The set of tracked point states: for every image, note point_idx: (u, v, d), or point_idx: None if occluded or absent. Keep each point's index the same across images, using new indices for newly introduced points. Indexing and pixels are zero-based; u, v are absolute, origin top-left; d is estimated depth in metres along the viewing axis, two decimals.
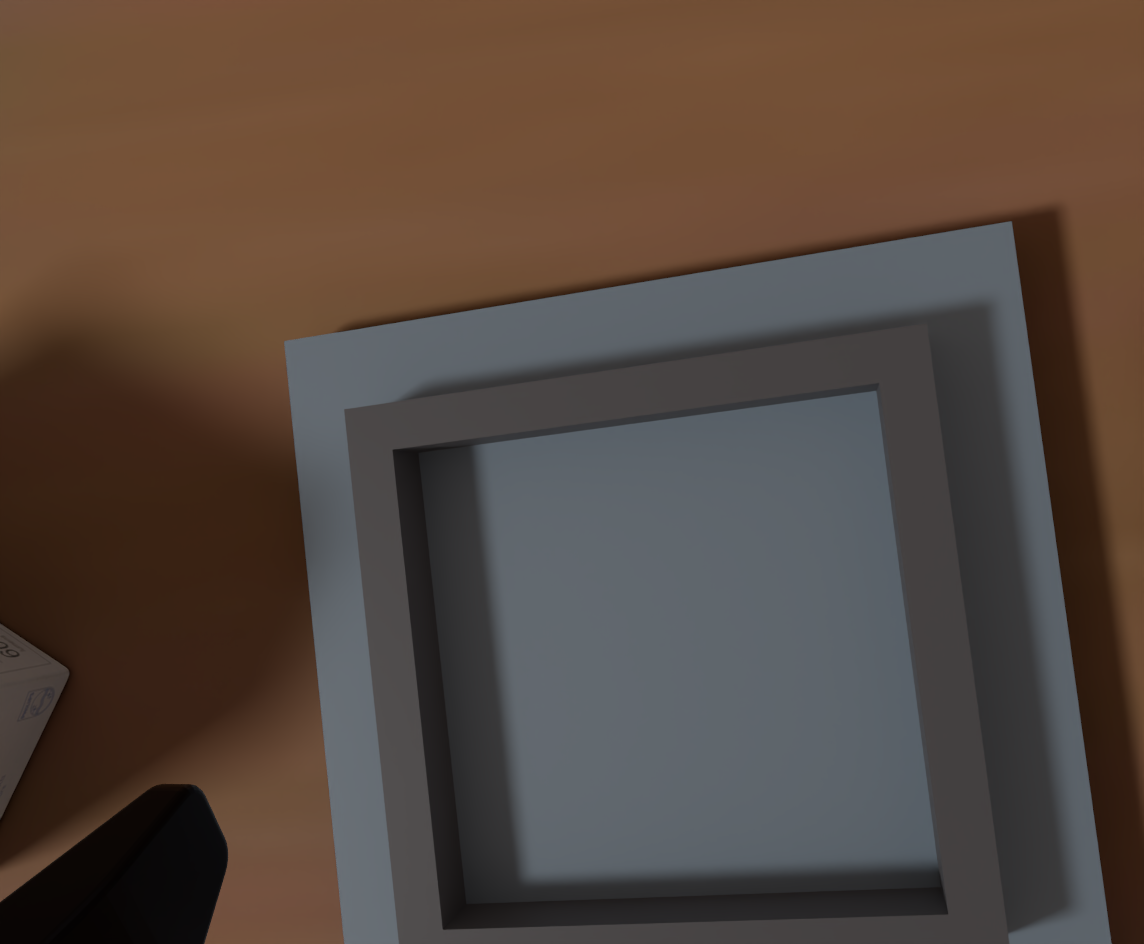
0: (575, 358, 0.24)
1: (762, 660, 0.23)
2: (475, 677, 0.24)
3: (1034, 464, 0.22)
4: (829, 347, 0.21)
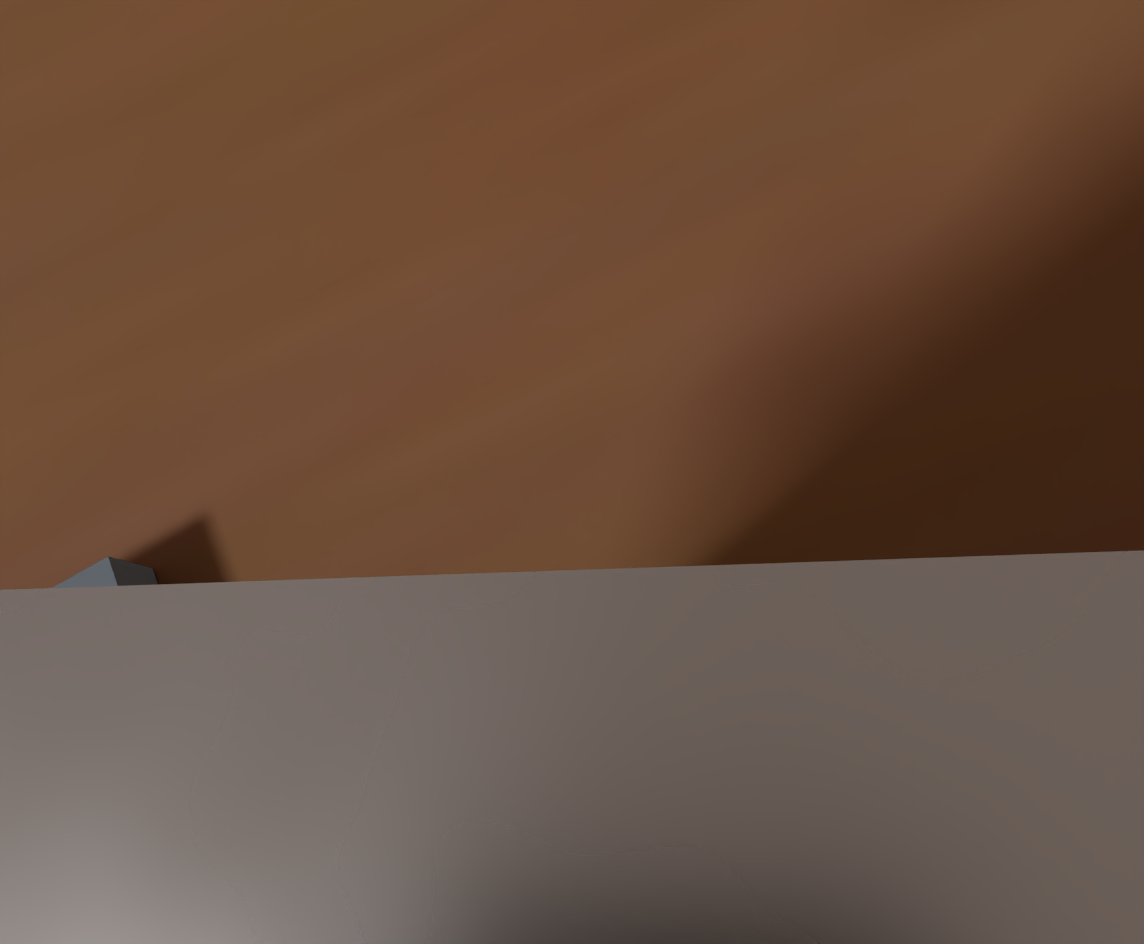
0: None
1: None
2: None
3: None
4: None
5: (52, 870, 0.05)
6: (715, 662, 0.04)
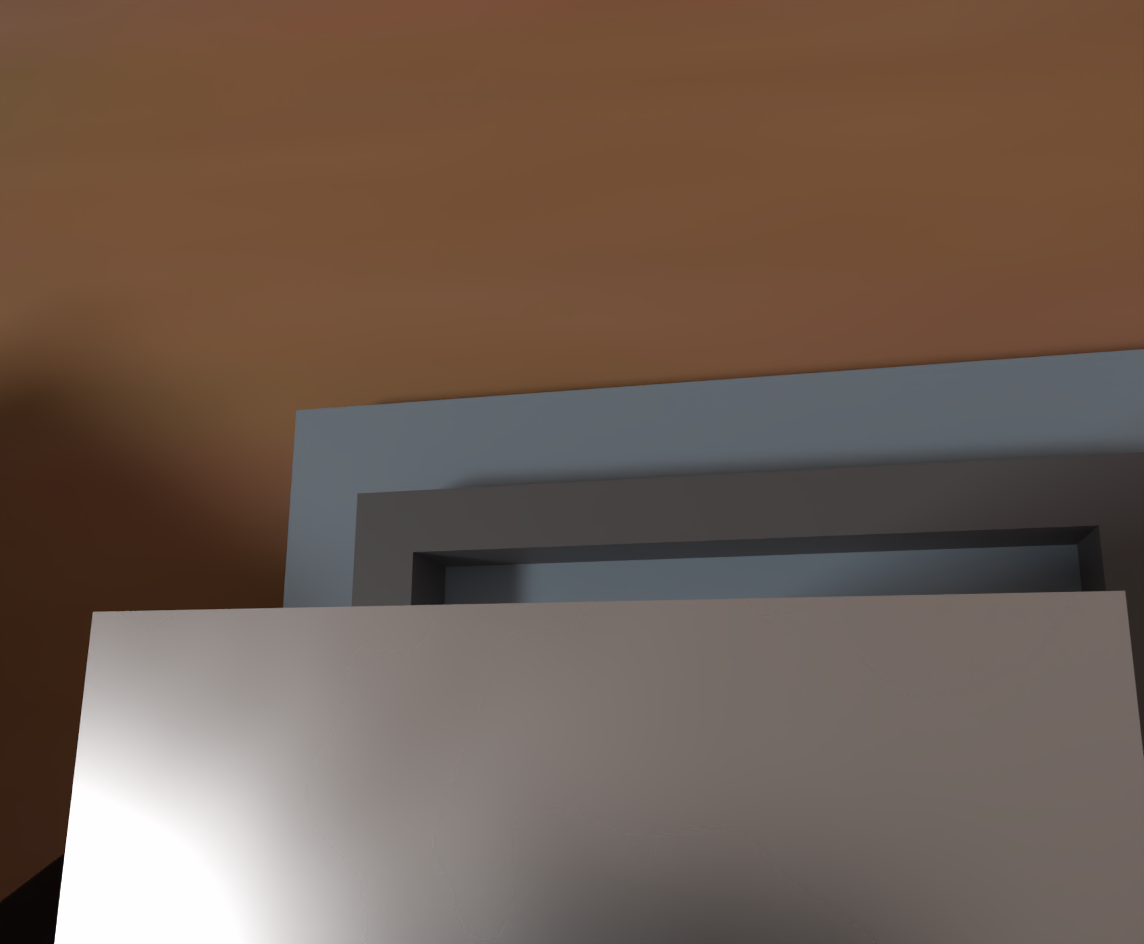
0: (666, 464, 0.18)
1: None
2: None
3: None
4: (1028, 471, 0.15)
5: (190, 846, 0.06)
6: (744, 679, 0.05)
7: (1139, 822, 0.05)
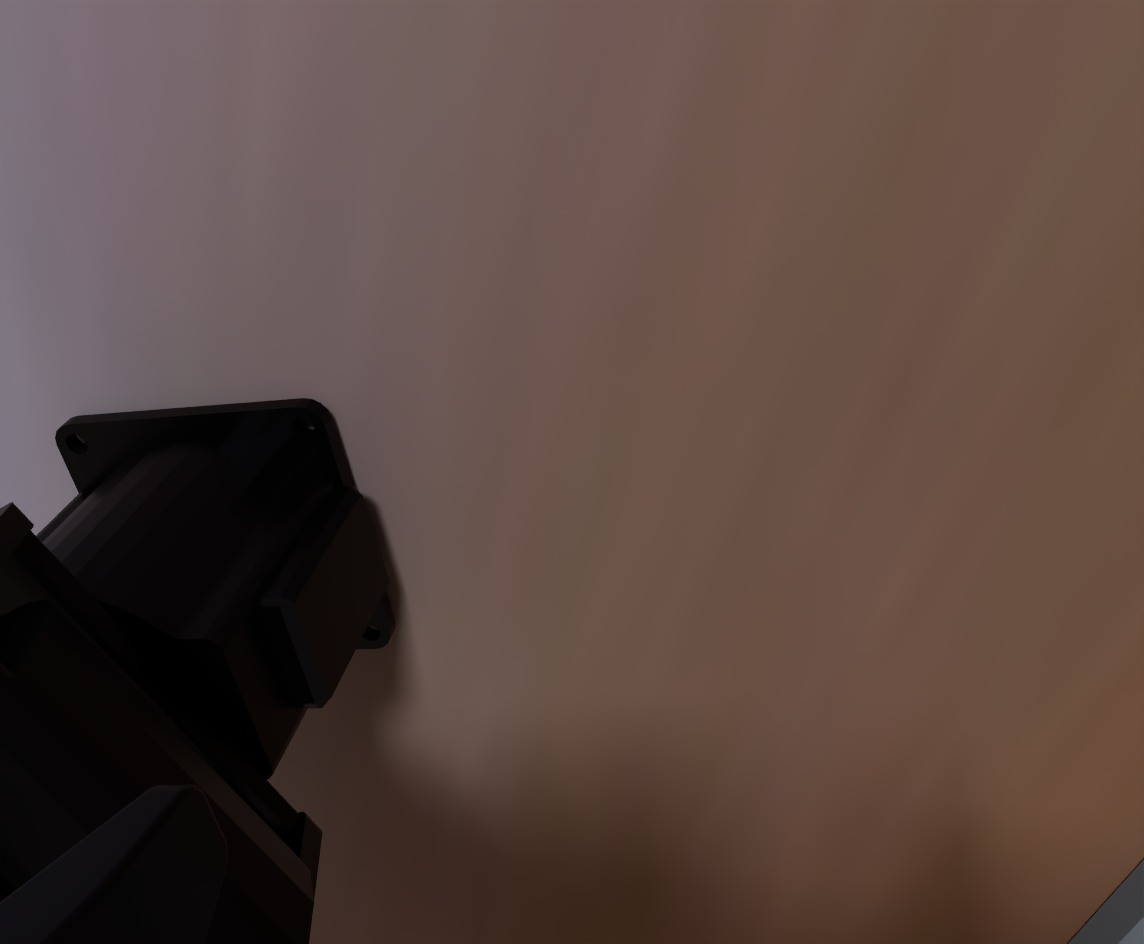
0: None
1: None
2: None
3: None
4: None
5: None
6: None
7: None
